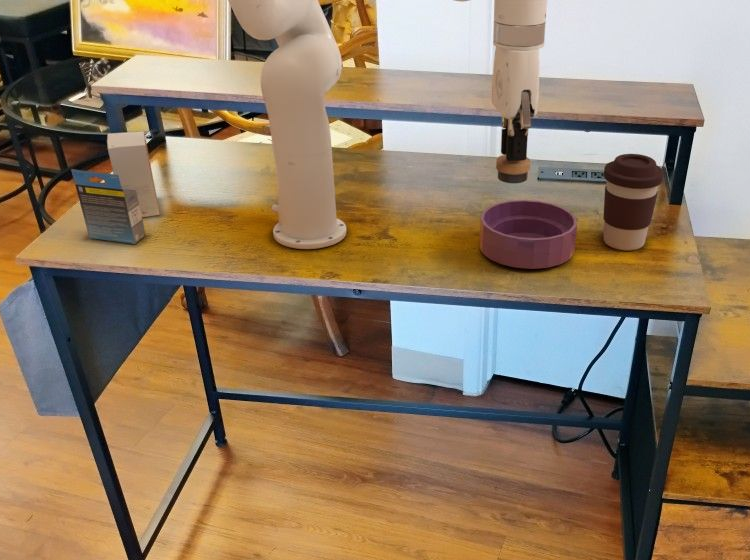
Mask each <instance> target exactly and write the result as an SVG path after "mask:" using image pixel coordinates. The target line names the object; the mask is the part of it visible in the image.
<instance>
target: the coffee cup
mask: <svg viewBox="0 0 750 560" xmlns="http://www.w3.org/2000/svg"><path fill="white" fill-rule="evenodd" d="M664 176H665V171H664V169H663V168H661V166H659V165H658V164H657V161H656V160H655V159H654V158H652V157H650V156H648V155H645V154H639V153H624V154H620V155H617V156H616V157H615V158H614V159H613V160H612V161H610V162H607V163H606V164H605V165H604V169H603V178H604V179H605V180H606V185H605V186H604V199H603V217H602V218H603V220H604V223H603V242H604V243H605V245H606V246H608V247H610V248H612V249H615V250H619V251H627V252H628V251H629V252H630V251H636V250H638V249H641V248H642V247H644V245H645V243H646V240H647V235H648V232H649V231H648V230H649V227H650V225H651V223H652V220H653V215H654V211H655V206H656V202H657V199H658V194H659V193H658V188H659V186H660V185H661V184H662V183H663V181H664Z"/></svg>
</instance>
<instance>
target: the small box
mask: <svg viewBox="0 0 750 560" xmlns="http://www.w3.org/2000/svg"><path fill="white" fill-rule="evenodd" d="M106 145H107V151H108V157H109V160H110V161H109V162H110V165H111V169H112V174H117V175H118V176H119V180H120V183H121V186H122V188H123V189H130V190H136V193H137V197H138V202H139V206H140V211H141V216H142V218H147V217H154V216H155V217H156V216H159V215H160V208H159V203H158V196H157V192H156V191H157V190H156V185H155V180H154V176H153V170H152V165H151V161H150V155H149V149H148V144H147V139H146V133H145V131H129V132H127V131H126V132H113V133H107V139H106Z"/></svg>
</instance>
